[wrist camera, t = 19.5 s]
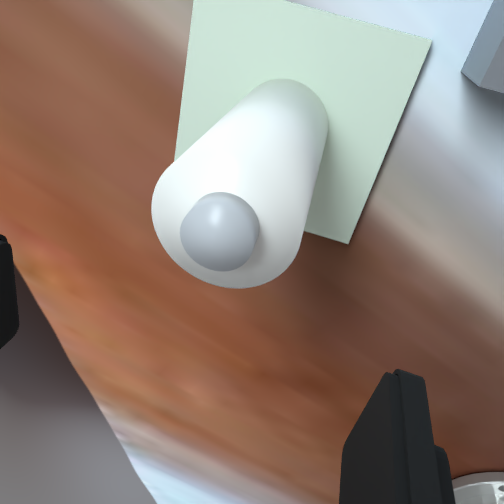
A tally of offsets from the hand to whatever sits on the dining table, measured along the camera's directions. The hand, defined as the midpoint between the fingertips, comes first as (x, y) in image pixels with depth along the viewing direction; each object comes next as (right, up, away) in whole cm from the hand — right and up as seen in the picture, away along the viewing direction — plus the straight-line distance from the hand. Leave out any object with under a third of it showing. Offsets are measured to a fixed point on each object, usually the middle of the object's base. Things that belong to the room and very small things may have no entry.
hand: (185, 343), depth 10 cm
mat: (+3, +10, +14) cm, 18 cm away
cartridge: (+3, +9, +14) cm, 17 cm away
